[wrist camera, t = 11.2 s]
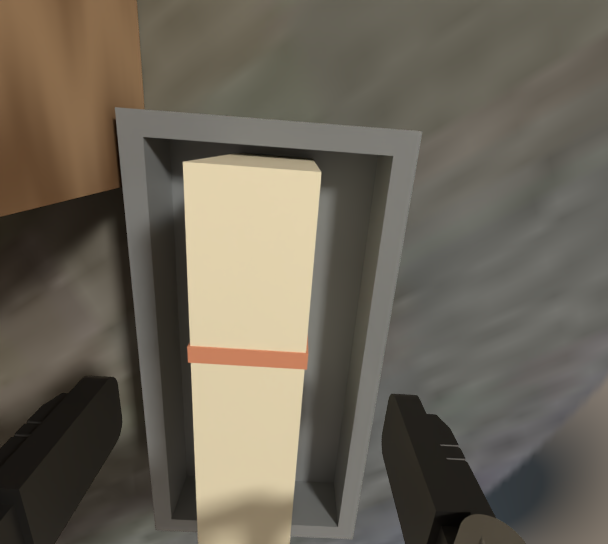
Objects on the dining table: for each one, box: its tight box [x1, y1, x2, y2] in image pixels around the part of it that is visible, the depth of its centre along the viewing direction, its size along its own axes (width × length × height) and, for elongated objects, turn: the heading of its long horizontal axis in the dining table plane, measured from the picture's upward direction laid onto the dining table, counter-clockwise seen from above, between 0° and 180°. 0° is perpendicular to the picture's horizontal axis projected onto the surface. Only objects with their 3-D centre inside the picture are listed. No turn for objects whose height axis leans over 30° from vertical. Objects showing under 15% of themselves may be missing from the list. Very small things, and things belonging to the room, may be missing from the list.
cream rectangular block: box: [183, 153, 321, 544], centre depth 11 cm, size 12×3×6 cm, turn 176°
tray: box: [115, 107, 422, 539], centre depth 14 cm, size 16×8×3 cm, turn 176°
